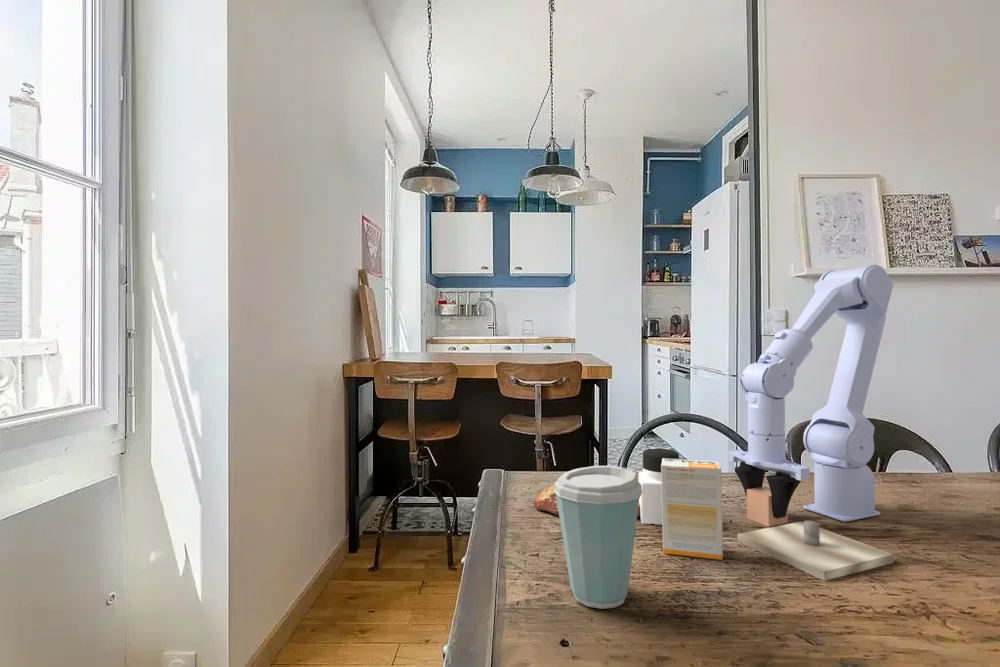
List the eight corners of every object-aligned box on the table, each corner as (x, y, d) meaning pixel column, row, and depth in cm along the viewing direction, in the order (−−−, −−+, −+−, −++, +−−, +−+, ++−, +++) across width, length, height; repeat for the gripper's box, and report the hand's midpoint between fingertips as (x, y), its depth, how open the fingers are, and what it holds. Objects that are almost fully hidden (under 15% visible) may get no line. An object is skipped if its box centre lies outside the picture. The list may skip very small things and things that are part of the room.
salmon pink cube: (765, 514, 92) (765, 486, 92) (787, 523, 88) (787, 493, 88) (746, 518, 90) (746, 489, 91) (768, 526, 86) (768, 496, 86)
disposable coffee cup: (584, 627, 57) (584, 489, 57) (538, 584, 66) (537, 466, 67) (662, 607, 61) (661, 478, 61) (608, 569, 71) (607, 458, 71)
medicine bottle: (685, 527, 86) (685, 454, 86) (641, 524, 88) (640, 453, 88) (679, 513, 93) (679, 446, 93) (638, 510, 95) (638, 444, 95)
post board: (801, 528, 85) (801, 503, 85) (893, 562, 72) (893, 532, 72) (737, 541, 80) (737, 514, 80) (824, 580, 67) (824, 548, 67)
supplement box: (720, 548, 78) (719, 460, 78) (723, 561, 73) (722, 468, 73) (662, 541, 80) (662, 456, 80) (661, 554, 76) (660, 463, 76)
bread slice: (664, 508, 94) (664, 487, 94) (596, 532, 83) (595, 509, 83) (591, 487, 108) (590, 469, 109) (524, 506, 98) (524, 485, 98)
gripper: (716, 427, 95) (716, 502, 94) (787, 442, 81) (787, 530, 81) (745, 425, 97) (745, 498, 97) (818, 439, 84) (819, 523, 84)
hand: (766, 512), depth 89 cm, fingers closed on salmon pink cube, 4 cm apart
